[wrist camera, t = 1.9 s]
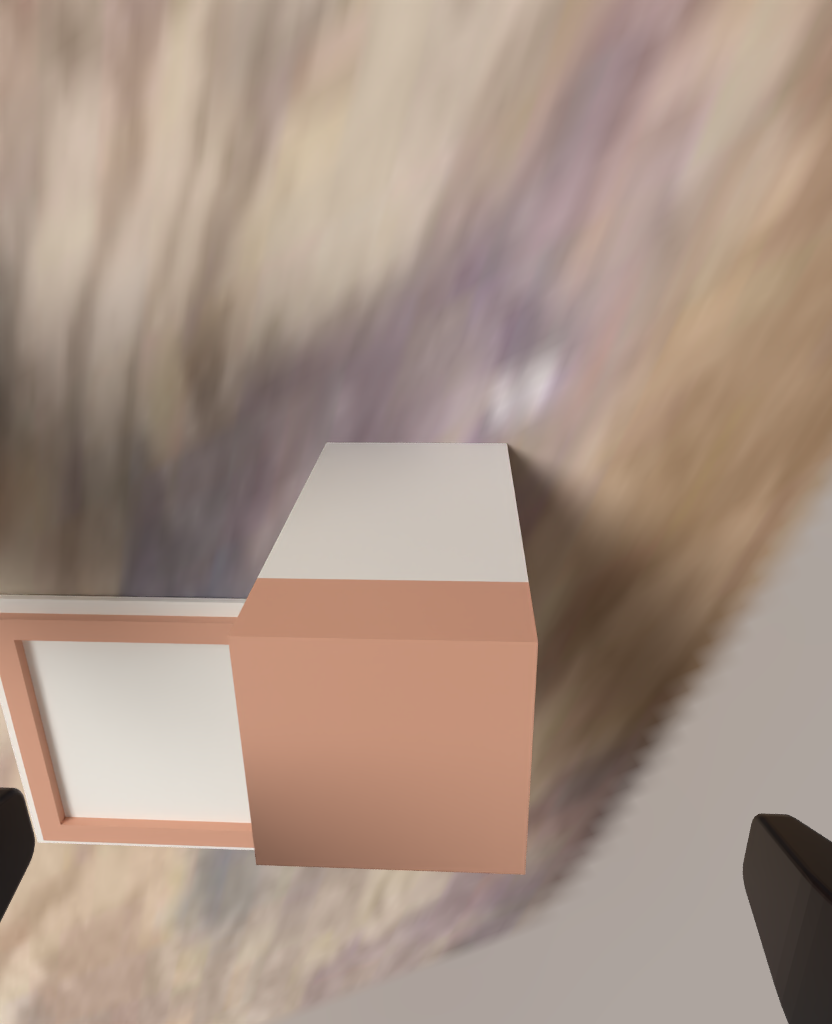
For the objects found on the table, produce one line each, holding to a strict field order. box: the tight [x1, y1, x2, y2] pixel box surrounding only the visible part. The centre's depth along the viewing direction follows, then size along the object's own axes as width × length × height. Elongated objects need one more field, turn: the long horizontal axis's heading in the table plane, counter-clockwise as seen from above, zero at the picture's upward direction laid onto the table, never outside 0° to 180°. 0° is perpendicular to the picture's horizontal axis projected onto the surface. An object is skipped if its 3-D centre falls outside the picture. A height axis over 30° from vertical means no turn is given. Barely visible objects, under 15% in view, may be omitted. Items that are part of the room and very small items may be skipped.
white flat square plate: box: [0, 595, 255, 850], centre depth 21 cm, size 8×8×1 cm
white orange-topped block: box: [228, 442, 538, 874], centre depth 15 cm, size 4×4×8 cm
